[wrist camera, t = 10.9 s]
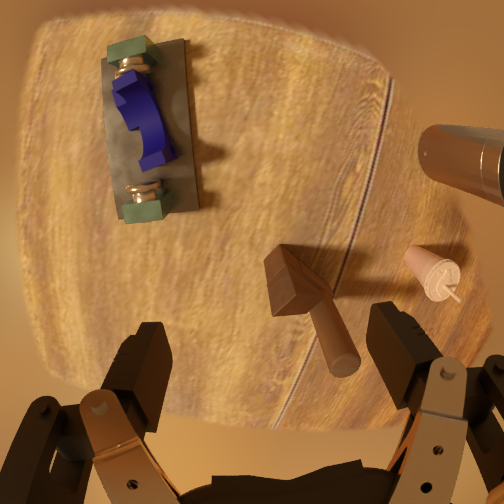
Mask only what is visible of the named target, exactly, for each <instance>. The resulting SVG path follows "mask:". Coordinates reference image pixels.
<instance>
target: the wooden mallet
mask: <svg viewBox="0 0 504 504" xmlns="http://www.w3.org/2000/svg"><path fill="white" fill-rule="evenodd" d="M264 266H265V272H266V279H267V283H268V284H267V287H268V293H269V299H270V306H271V312H272V316H273V317H275V316H287V315H297V314H306V313H308V312H310V315H311V318H312V321H313V324H314V326H315V329H316V332H317V335H318V338H319V341H320V344H321V347H322V350H323V353H324V356H325V359H326V362H327V365H328V368H329V371H330V373H331V374H332V375H333V376H335V377H338V378H343V377H347V376H350V375H352V374H353V373H355V372H356V371H357V370H358V369H359V367H360V364H361V358H360V356H359V354H358V351H357V349H356V347H355V345H354V343H353V341H352V339H351V337H350V334H349V332H348V330H347V328H346V326H345V324H344V322H343V320H342V318H341V316H340V314H339V312H338V310H337V308H336V306H335V304H334V302H333V300H332V299H333V298H334V294H333V292H332V290H331V288H330V286H329V285H328V284H327V283H326V282H325V281H324V280H322V279H321V278H320V277H319V276H318V275H317V274H315V273H314V272H313V271H312V270H311V269H309V268H308V267H307V266H306V265H305V264H304V263H302V262H301V261H300V260H298V259H297V258H296V257H295V256H294V255H293V254H292V253H291V252H289V251H288V250H287V249H286V248H285V247H283V246H282V245H280V244H279V245H278V246H277V247H276V248H275V249H274V250H273V251H272V252H271V253H270V254H269V255H268V256H267V257H266V258H265V259H264Z"/></svg>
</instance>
